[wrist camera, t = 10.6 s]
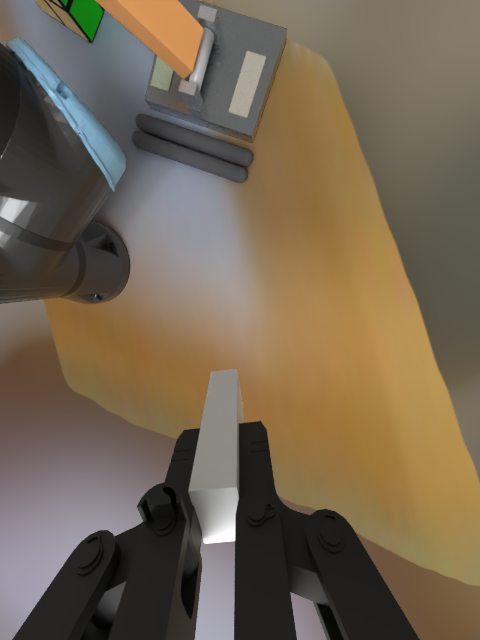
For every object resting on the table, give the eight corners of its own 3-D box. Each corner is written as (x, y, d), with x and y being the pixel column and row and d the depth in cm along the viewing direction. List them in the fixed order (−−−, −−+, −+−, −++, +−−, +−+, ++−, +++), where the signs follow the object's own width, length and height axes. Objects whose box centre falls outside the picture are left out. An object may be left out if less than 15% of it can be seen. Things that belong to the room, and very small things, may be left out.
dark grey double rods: (135, 148, 40) (127, 140, 38) (142, 117, 39) (135, 108, 37) (244, 187, 39) (243, 181, 37) (255, 156, 38) (254, 149, 36)
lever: (194, 97, 36) (65, -13, 26) (208, 45, 35) (78, -95, 24) (203, 91, 34) (66, -33, 24) (218, 34, 33) (80, -124, 22)
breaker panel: (151, 108, 39) (133, 82, 34) (175, 7, 36) (159, -37, 31) (252, 143, 38) (249, 122, 33) (285, 42, 35) (288, 2, 30)
